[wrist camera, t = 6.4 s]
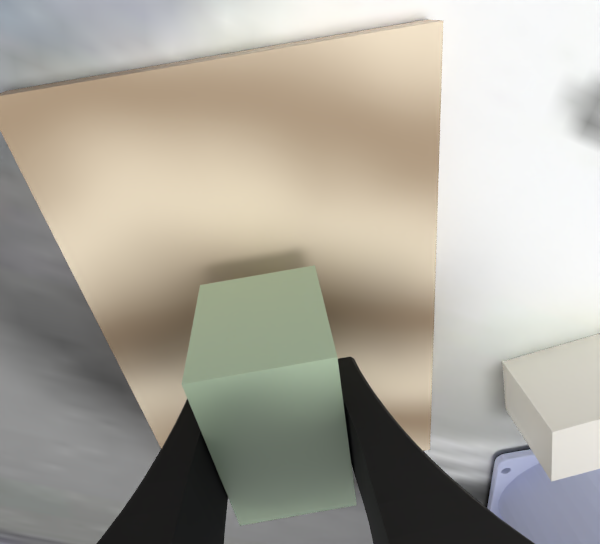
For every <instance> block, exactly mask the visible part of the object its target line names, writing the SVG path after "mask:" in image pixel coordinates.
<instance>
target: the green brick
mask: <svg viewBox="0 0 600 544" xmlns="http://www.w3.org/2000/svg"><path fill="white" fill-rule="evenodd" d="M182 387H183V389H184V391H185V394H186V396H187V399H188V401H189V404H190V406H191V408H192V411H193V413H194V416H195V418H196V420H197V423H198V425H199V428H200V430H201V433H202V435H203V437H204V440H205V442H206V445H207V447H208V450H209V452H210V454H211V457H212V459H213V462H214V464H215V466H216V469H217V471H218V474H219V476H220V479H221V481H222V483H223V486H224V488H225V491H226V493H227V496H228V498H229V500H230V503H231V505H232V508H233V510H234V512H235V515H236V517H237V520H238V522H239V525H240V526H241V525H247V524H253V523H258V522H264V521H270V520H275V519H281V518H287V517H292V516H298V515H304V514H309V513H315V512H321V511H327V510H332V509H338V508H344V507H349V506H355V505H357V504H356V496H355V489H354V481H353V473H352V466H351V458H350V450H349V442H348V435H347V427H346V419H345V412H344V404H343V396H342V388H341V381H340V373H339V365H338V358H337V353H336V349H335V345H334V341H333V337H332V333H331V329H330V325H329V321H328V317H327V312H326V308H325V304H324V300H323V296H322V292H321V288H320V284H319V280H318V276H317V272H316V268H315V265H313V266H308V267H302V268H296V269H290V270H284V271H279V272H273V273H267V274H261V275H255V276H250V277H244V278H238V279H232V280H226V281H221V282H215V283H209V284H203V285H200V288H199V293H198V298H197V304H196V309H195V315H194V320H193V325H192V331H191V336H190V342H189V347H188V352H187V358H186V363H185V369H184V374H183V379H182Z"/></svg>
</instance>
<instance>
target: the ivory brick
mask: <svg viewBox="0 0 600 544" xmlns="http://www.w3.org/2000/svg"><path fill="white" fill-rule="evenodd" d="M502 364H503V378H504V392H505V407H506V411H507V412H508V414H509V415H510V417H511V418H512V420H513V422H514V423H515V425H516V426H517V428H518V430H519V431H520V433H521V434H522V436H523V437H524V439H525V441H526V442H527V444H528V445H529V447H530V449H531V450H532V452H533V453H534V455H535V456H536V458H537V460H538V461H539V463H540V464H541V466H542V467H543V469H544V471H545V472H546V474H547V475H548V477H549V479H550V480H551V482H552V481H555V480H559V479H563V478H567V477H570V476H574V475H578V474H582V473H586V472H589V471H593V470H597V469H600V333H599V334H595V335H592V336H589V337H585V338H582V339H578V340H575V341H571V342H568V343H564V344H561V345H557V346H554V347H550V348H547V349H543V350H540V351H537V352H533V353H530V354H526V355H523V356H519V357H516V358H512V359H509V360H505V361H502Z"/></svg>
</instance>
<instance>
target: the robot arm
mask: <svg viewBox="0 0 600 544" xmlns="http://www.w3.org/2000/svg"><path fill="white" fill-rule="evenodd" d="M338 365H339V373H340V381H341V388H342V396H343V404H344V412H345V419H346V427H347V435H348V442H349V450H350V458H351V464H352V467H353V470H354V474H355V477H356V480H357V483H358V487H359V490H360V493H361V496H362V500H363V503H364V506H365V510H366V513H367V517H368V521H369V525H370V529H371V534H372V538H373V543H374V544H600V469H597V470H593V471H589V472H586V473H582V474H578V475H574V476H570V477H567V478H563V479H559V480H555V481H552V482H551V480H550V479H549V477H548V475H547V474H546V472H545V471H544V469H543V467H542V466H541V464H540V463H539V461H538V460H537V458H536V456H535V455H534V453H533V452H532V450H531V449H528V450H523V451H517V452H511V453H506V454H502V455H500V456H498V457H497V458H496V460H495V464H494V470H493V476H492V482H491V488H490V494H489V500H488V506H487V508H486V507H485V506H484V505H482V504H481V503H480V502H479V501H477V500H476V499H475V498H474V497H473V496H471V495H470V494H469V493H468V492H467V491H466V490H465V489H463V488H462V487H461V486H460V485H459V484H458V483H456V482H455V481H454V480H453V479H452V478H451V477H450V476H448V475H447V474H446V473H445V472H444V471H443V470H442V469H441V468H440V467H439V466H438V465H437V464H436V463H435V462H434V461H433V460H432V459H431V458H430V457H429V456H428V455H427V454H426V453H425V452H424V451H423V450H422V449H421V448H420V447H419V446H418V445H417V444H416V443H415V442H414V441H413V440H412V439H411V437H410V436H409V435H408V434H407V433H406V432H405V431H404V430H403V428H402V427H401V426H400V425H399V424H398V422H397V421H396V420H395V419H394V418H393V416H392V415H391V414H390V413H389V411H388V410H387V409H386V407H385V406H384V405H383V403H382V402H381V401H380V399H379V398H378V397H377V395H376V394H375V393H374V391H373V390H372V388H371V387H370V385H369V384H368V382H367V381H366V379H365V377H364V376H363V374H362V372H361V371H360V369H359V367H358V365H357V363H356V361H355V359H354V358H352V357H351V356H350V357H345V358H339V359H338ZM227 500H228V496H227V493H226V491H225V488H224V486H223V483H222V481H221V479H220V476H219V474H218V471H217V469H216V466H215V464H214V462H213V459H212V457H211V454H210V452H209V450H208V447H207V445H206V442H205V440H204V437H203V435H202V433H201V430H200V428H199V425H198V423H197V420H196V418H195V416H194V413H193V411H192V408H191V406H190V404H189V401H188V399H187V400H186V402H185V404H184V407H183V409H182V411H181V413H180V415H179V417H178V419H177V421H176V423H175V425H174V427H173V428H172V430H171V432H170V434H169V436H168V438H167V440H166V441H165V443H164V445H163V447H162V449H161V451H160V452H159V454H158V456H157V457H156V459H155V461H154V462H153V464H152V466H151V467H150V469H149V471H148V472H147V474H146V476H145V477H144V479H143V480H142V482H141V484H140V485H139V487H138V488H137V490H136V491H135V493H134V494H133V496H132V497H131V499H130V500H129V501H128V503H127V504H126V506H125V507H124V509H123V510H122V511H121V513H120V514H119V515H118V517H117V518H116V519H115V521H114V522H113V523H112V525H111V526H110V527H109V529H108V530H107V531H106V533H105V534H104V535H103V536H102V538H101V539H100V540H99V541H98V543H97V544H224V532H225V521H226V510H227Z"/></svg>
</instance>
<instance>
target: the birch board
mask: <svg viewBox="0 0 600 544" xmlns="http://www.w3.org/2000/svg"><path fill="white" fill-rule="evenodd" d="M442 44H443V21H441V20H422V21H416V22H410V23H404V24H398V25H392V26H386V27H380V28H375V29H369V30H363V31H357V32H351V33H345V34H339V35H333V36H327V37H322V38H316V39H310V40H304V41H298V42H292V43H286V44H280V45H274V46H268V47H263V48H257V49H251V50H245V51H239V52H233V53H227V54H221V55H215V56H210V57H204V58H198V59H192V60H186V61H180V62H174V63H168V64H162V65H157V66H151V67H145V68H139V69H133V70H127V71H121V72H115V73H109V74H104V75H98V76H92V77H86V78H80V79H74V80H68V81H62V82H56V83H51V84H45V85H39V86H33V87H27V88H21V89H15V90H9V91H5V92H2V93H0V131H1V133H2V135H3V137H4V139H5V141H6V143H7V144H8V146H9V148H10V150H11V152H12V154H13V156H14V158H15V160H16V162H17V164H18V166H19V168H20V170H21V172H22V174H23V176H24V178H25V180H26V182H27V184H28V186H29V188H30V190H31V192H32V194H33V196H34V198H35V200H36V202H37V204H38V206H39V208H40V210H41V212H42V214H43V216H44V218H45V220H46V222H47V224H48V225H49V227H50V229H51V231H52V233H53V235H54V237H55V239H56V241H57V243H58V245H59V247H60V249H61V251H62V253H63V255H64V257H65V259H66V261H67V263H68V265H69V267H70V269H71V271H72V273H73V275H74V277H75V279H76V281H77V283H78V285H79V287H80V289H81V291H82V293H83V295H84V297H85V299H86V301H87V303H88V305H89V306H90V308H91V310H92V312H93V314H94V316H95V318H96V320H97V322H98V324H99V326H100V328H101V330H102V332H103V334H104V336H105V338H106V340H107V342H108V344H109V346H110V348H111V350H112V352H113V354H114V356H115V358H116V360H117V362H118V364H119V366H120V368H121V370H122V372H123V374H124V376H125V378H126V380H127V382H128V384H129V386H130V387H131V389H132V391H133V393H134V395H135V397H136V399H137V401H138V403H139V405H140V407H141V409H142V411H143V413H144V415H145V417H146V419H147V421H148V423H149V425H150V427H151V429H152V431H153V433H154V435H155V437H156V439H157V441H158V443H159V445H160V447H161V449H162V447H163V445H164V443H165V441H166V440H167V438H168V436H169V434H170V432H171V430H172V428H173V427H174V425H175V423H176V421H177V419H178V417H179V415H180V413H181V411H182V409H183V407H184V404H185V402H186V400H187V396H186V394H185V391H184V389H183V387H182V379H183V374H184V369H185V363H186V358H187V352H188V347H189V342H190V336H191V331H192V325H193V320H194V315H195V309H196V304H197V298H198V293H199V288H200V285H203V284H209V283H215V282H221V281H226V280H232V279H238V278H244V277H250V276H255V275H261V274H267V273H273V272H279V271H284V270H290V269H296V268H302V267H308V266H313V265H315V268H316V272H317V276H318V280H319V284H320V288H321V292H322V296H323V300H324V304H325V308H326V312H327V317H328V321H329V325H330V329H331V333H332V337H333V341H334V345H335V349H336V353H337V358H338V359H339V358H345V357H350V356H351V357H352V358H354V359H355V361H356V363H357V365H358V367H359V369H360V371H361V372H362V374H363V376H364V377H365V379H366V381H367V382H368V384H369V385H370V387H371V388H372V390H373V391H374V393H375V394H376V395H377V397H378V398H379V399H380V401H381V402H382V403H383V405H384V406H385V407H386V409H387V410H388V411H389V413H390V414H391V415H392V416H393V418H394V419H395V420H396V421H397V422H398V424H399V425H400V426H401V427H402V428H403V430H404V431H405V432H406V433H407V434H408V435H409V436H410V437H411V439H412V440H413V441H414V442H415V443H416V444H417V445H418V446H419V447H420V448H421V449H422V450H423V451H424V450H430V430H431V398H432V366H433V334H434V301H435V269H436V237H437V205H438V173H439V140H440V108H441V76H442Z"/></svg>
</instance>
